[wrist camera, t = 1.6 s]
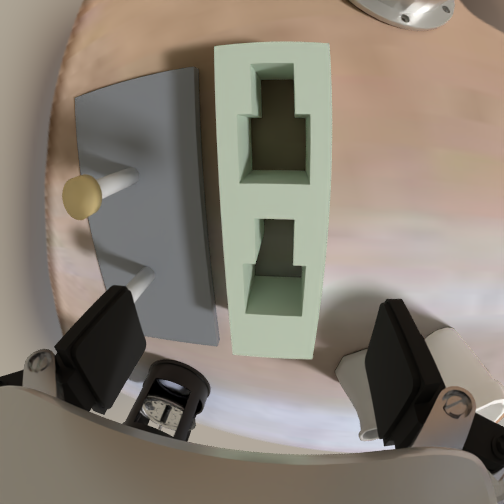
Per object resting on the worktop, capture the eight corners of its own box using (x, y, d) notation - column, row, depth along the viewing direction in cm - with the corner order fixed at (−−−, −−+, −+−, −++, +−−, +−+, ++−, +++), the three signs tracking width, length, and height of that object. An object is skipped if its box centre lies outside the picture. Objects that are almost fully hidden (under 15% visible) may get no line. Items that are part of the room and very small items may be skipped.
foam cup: (434, 376, 30) (458, 450, 18) (391, 363, 30) (413, 451, 18) (478, 328, 26) (519, 400, 14) (440, 307, 25) (487, 394, 14)
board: (82, 97, 21) (16, 100, 13) (198, 69, 19) (148, 43, 11) (124, 325, 33) (90, 373, 25) (219, 339, 31) (198, 400, 23)
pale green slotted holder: (233, 65, 19) (214, 46, 14) (320, 64, 18) (329, 43, 13) (243, 314, 29) (232, 354, 24) (310, 317, 28) (312, 359, 23)
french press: (186, 352, 33) (116, 515, 12) (227, 394, 36) (187, 541, 15) (131, 367, 37) (65, 488, 16) (170, 403, 40) (123, 519, 19)
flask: (333, 387, 33) (336, 451, 24) (335, 350, 30) (343, 422, 21) (384, 381, 31) (397, 442, 22) (394, 343, 28) (415, 411, 19)
